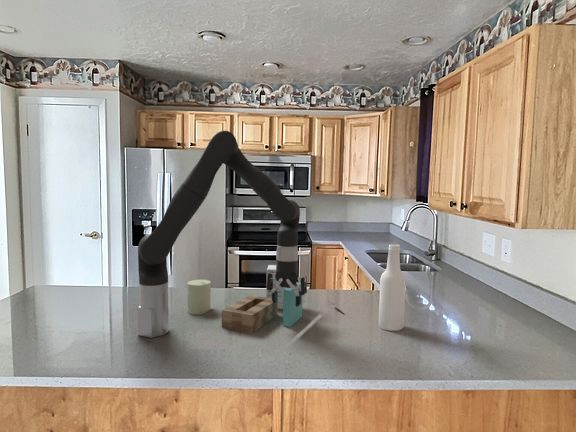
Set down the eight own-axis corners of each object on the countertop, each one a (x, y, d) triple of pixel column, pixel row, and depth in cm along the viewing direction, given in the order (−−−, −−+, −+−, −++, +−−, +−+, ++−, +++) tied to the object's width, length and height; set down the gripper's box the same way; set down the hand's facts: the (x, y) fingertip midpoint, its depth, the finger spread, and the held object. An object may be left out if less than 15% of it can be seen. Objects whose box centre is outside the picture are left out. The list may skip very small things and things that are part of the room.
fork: (341, 316, 156) (341, 311, 155) (325, 304, 171) (325, 299, 171) (347, 315, 156) (347, 310, 156) (331, 303, 172) (331, 299, 171)
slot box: (251, 335, 134) (252, 315, 133) (221, 329, 139) (221, 310, 138) (277, 317, 152) (277, 299, 151) (249, 312, 157) (249, 295, 156)
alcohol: (386, 332, 138) (389, 247, 136) (374, 323, 147) (377, 243, 144) (408, 330, 141) (412, 246, 138) (395, 322, 149) (398, 242, 147)
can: (197, 316, 152) (197, 285, 151) (182, 311, 157) (182, 281, 156) (215, 310, 159) (215, 280, 158) (200, 305, 164) (200, 277, 163)
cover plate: (289, 329, 140) (290, 290, 138) (282, 328, 141) (283, 289, 139) (301, 319, 150) (302, 282, 149) (295, 318, 152) (296, 282, 150)
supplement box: (288, 311, 159) (289, 269, 158) (265, 310, 159) (266, 269, 158) (289, 304, 169) (289, 264, 167) (267, 303, 169) (268, 264, 167)
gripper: (263, 258, 137) (263, 304, 138) (302, 262, 131) (301, 310, 133) (273, 254, 144) (272, 298, 145) (310, 258, 138) (309, 304, 139)
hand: (286, 304), depth 139 cm, fingers open, 8 cm apart
